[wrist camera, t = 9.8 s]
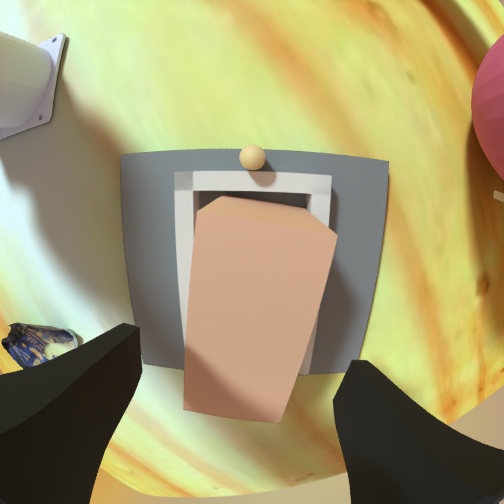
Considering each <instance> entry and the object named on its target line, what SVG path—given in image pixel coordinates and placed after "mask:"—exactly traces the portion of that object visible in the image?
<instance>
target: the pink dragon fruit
mask: <svg viewBox="0 0 504 504" xmlns="http://www.w3.org/2000/svg"><path fill="white" fill-rule="evenodd" d="M471 110H472V120H473V125H474V129H475V132H476V136H477V138H478V141H479V143H480V146H481V148H482V150H483V152H484V153H485V155H486V157H487V159H488V160H489V162H490V163H491V165H492V166H493V168H494V169H495V171H496V172H497V173H498V174H499V176H500V177H501V178H502V179H503V181H504V34H503V35H502V36H501V37H500V38H499V39H498V40H497V41H496V42H495V44H494V45H493V46H492V47H491V48H490V50H489V51H488V52H487V54H486V55H485V57H484V59H483V61H482V63H481V65H480V67H479V69H478V72H477V74H476V77H475V80H474V85H473V89H472V98H471ZM493 198H495V199H497V200H499V201H502V202H504V194H503V193H501V192H498V191H496V190H494V194H493Z"/></svg>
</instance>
